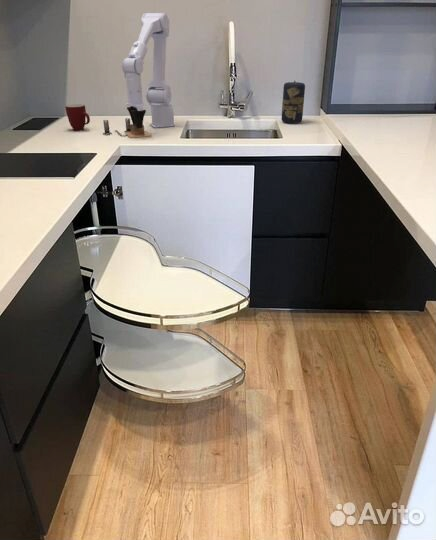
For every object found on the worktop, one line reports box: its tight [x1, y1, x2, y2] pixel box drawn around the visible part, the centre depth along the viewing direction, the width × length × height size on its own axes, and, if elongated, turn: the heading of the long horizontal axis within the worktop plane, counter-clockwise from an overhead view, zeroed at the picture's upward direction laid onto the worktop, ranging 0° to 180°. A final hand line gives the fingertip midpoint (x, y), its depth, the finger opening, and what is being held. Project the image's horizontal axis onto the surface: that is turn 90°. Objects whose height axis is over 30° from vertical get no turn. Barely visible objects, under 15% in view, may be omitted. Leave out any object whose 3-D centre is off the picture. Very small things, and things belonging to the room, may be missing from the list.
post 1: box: [102, 119, 113, 136], centre depth 189 cm, size 4×4×6 cm
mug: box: [64, 103, 91, 132], centre depth 195 cm, size 10×8×10 cm
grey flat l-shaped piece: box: [114, 129, 128, 137], centre depth 191 cm, size 4×12×1 cm, turn 22°
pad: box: [124, 130, 152, 139], centre depth 189 cm, size 9×9×1 cm
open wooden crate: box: [130, 123, 145, 135], centre depth 188 cm, size 4×4×4 cm
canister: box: [281, 80, 306, 124], centre depth 207 cm, size 10×10×18 cm
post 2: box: [124, 117, 131, 132], centre depth 192 cm, size 4×4×6 cm
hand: (137, 126), depth 187 cm, fingers open, 6 cm apart
